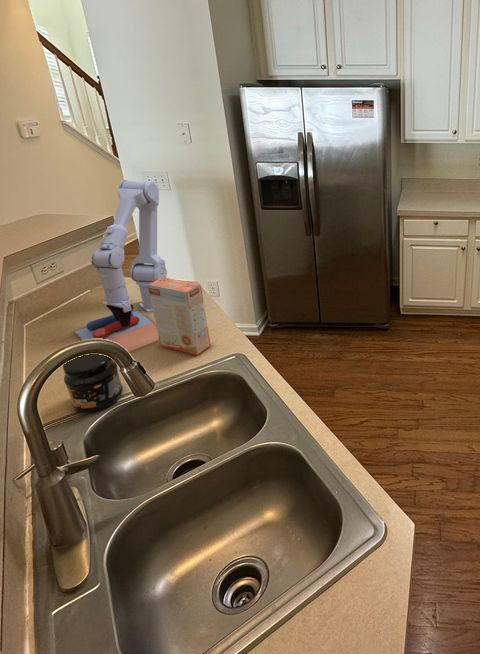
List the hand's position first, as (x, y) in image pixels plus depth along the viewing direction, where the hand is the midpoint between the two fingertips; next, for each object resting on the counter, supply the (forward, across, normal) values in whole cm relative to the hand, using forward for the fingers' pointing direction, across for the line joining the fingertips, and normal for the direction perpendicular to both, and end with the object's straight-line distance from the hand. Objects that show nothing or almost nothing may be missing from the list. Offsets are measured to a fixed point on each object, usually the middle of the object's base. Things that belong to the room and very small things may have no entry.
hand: (124, 324), depth 137 cm
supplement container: (+2, +31, -17) cm, 35 cm away
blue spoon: (+1, -6, -2) cm, 6 cm away
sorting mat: (+2, +3, -2) cm, 4 cm away
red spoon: (+1, 0, -2) cm, 2 cm away
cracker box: (+2, +24, +8) cm, 25 cm away
